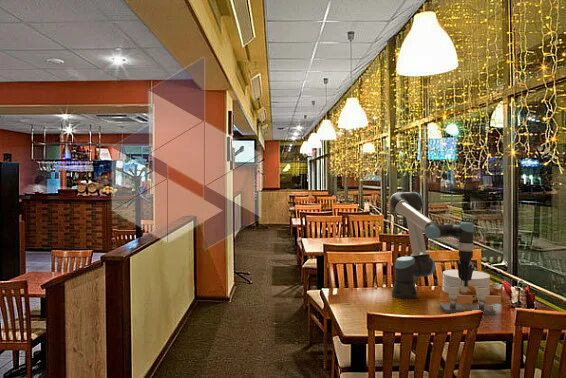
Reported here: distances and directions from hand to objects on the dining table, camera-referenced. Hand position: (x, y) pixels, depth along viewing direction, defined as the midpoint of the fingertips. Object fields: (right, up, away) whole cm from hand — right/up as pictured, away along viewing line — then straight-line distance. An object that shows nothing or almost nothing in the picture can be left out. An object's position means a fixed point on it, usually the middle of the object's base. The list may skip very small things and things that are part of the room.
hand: (464, 291), depth 258 cm
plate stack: (+15, -8, +36) cm, 40 cm away
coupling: (-5, -4, -7) cm, 10 cm away
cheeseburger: (+9, -9, +16) cm, 20 cm away
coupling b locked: (+10, -4, -8) cm, 14 cm away
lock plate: (-1, -9, -7) cm, 11 cm away
